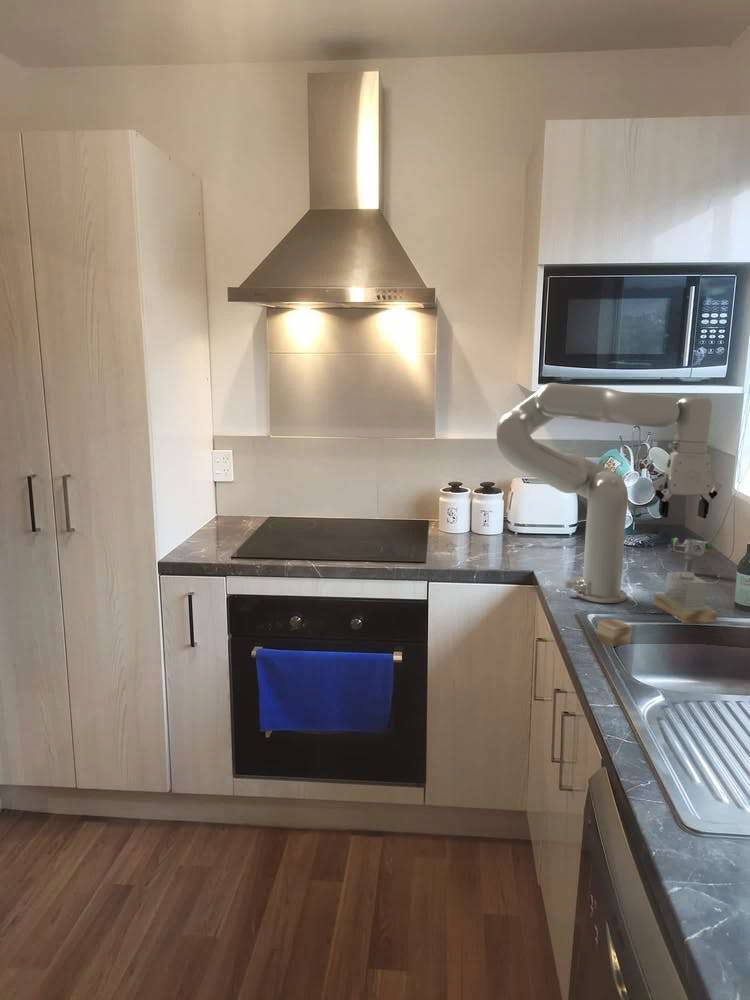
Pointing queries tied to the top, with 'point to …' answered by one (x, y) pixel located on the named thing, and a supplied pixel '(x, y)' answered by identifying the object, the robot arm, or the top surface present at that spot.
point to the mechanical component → (690, 549)
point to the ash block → (614, 632)
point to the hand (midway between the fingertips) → (682, 516)
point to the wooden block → (685, 610)
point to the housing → (686, 589)
